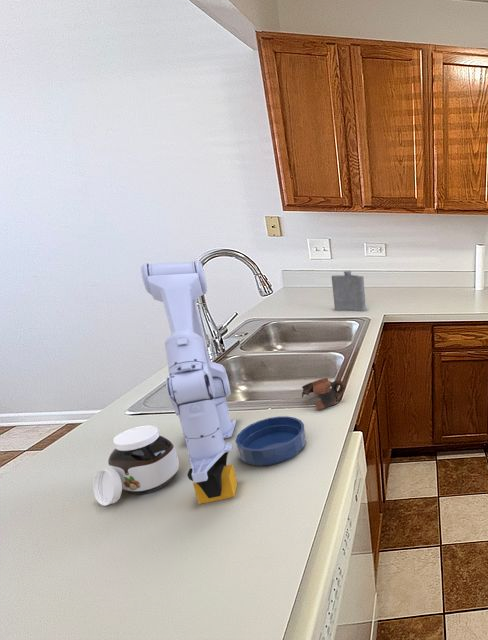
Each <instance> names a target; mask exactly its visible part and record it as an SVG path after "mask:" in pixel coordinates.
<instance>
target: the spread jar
mask: <svg viewBox="0 0 488 640" xmlns="http://www.w3.org/2000/svg"><path fill="white" fill-rule="evenodd" d="M112 443H113V446H114V449H113V450H112V452H111V453H110V454H109V457H108V460H107V463H108V467H105V468H102V469H99V470H97V472H96V473H95V474H94V476H93V479H92V492H93V495H94V498H95V500H96V501H97V502H98V504H99V505H101V506H110V505H112V504H115V503H117V502H118V501H119V500H120V499H121V495H122V491H124V492H127V493H130V494H132V495H145V494H148V493H152V492H155V491H157V490H159V489H162V488H163V487H165V486H166V485H167V484H169V482H171V480H173V479H174V477H175V476H176V475H177V473H178V471H179V469H180V460H179V457H178V454H177V450H176V448H175V445H174V444H173V443H172V441H170V440H169V439H168V438H166V437H164V436H162V435H160V432H159V429H158V427H157V426H156V425H152V424H151V425H150V424H147V425H139V426H135V427H132V428H129V429H126V430H124V431H122V432H119V433H118V434H117V435H116V436H115V437H114V438H113V440H112Z"/></svg>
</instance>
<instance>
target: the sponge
mask: <svg viewBox="0 0 488 640" xmlns="http://www.w3.org/2000/svg"><path fill="white" fill-rule="evenodd" d="M221 483H222V492H221V496H218V497H213V498H208V497H207V495H206V494H205V493H204V491H203V490H202V489H201V487H200V486H199V485H198V484H196V483H194V482H193V483H192V485H193V488H194V492H195V496H196V500H197V502H198V505H201V504H206V503H211V502H217V501H221V500H226V499H230V498H231V499H232V498H234V497H235V495H236V492H237V486H238V481H237V477H236V473H235V468H234V464H228V465H227V464H226V466H224V468H223V471H222V476H221Z"/></svg>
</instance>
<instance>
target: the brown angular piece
mask: <svg viewBox="0 0 488 640" xmlns="http://www.w3.org/2000/svg"><path fill="white" fill-rule="evenodd" d="M338 386H340V388H339V390H338V389H337V388H338ZM301 388H302V392H301V397H302V398H304V396H309V395H310V394H311V393H313V394H314V395H316V396H318V397H319V399H320V400H319V401H317V402H315V403H314V407H315V409H316V410H317V411H320V410H323V409H326V408H329V407H332V406H335V405H336V404H337V400H338V399H339V397H340V396H342V395H343V394H344V393H345V391H346V384H345V382H344V381H343V380H335V381H330V380H329V378H328V377H323V378H319V379H318V380H315V381H312V382H309V383H307V384H303V386H301Z"/></svg>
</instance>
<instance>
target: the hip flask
mask: <svg viewBox="0 0 488 640" xmlns="http://www.w3.org/2000/svg"><path fill="white" fill-rule="evenodd" d="M343 274H344V275H343ZM343 274H342V275H337V274H335V275H331V285H332V296H333V304H334V310H335V311H356V312H364V311H365V312H366V310H367V305H366V293H365V280H364V279H365V278H364V276H363V275H359V274H352V271H351V270H344V271H343Z"/></svg>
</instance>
